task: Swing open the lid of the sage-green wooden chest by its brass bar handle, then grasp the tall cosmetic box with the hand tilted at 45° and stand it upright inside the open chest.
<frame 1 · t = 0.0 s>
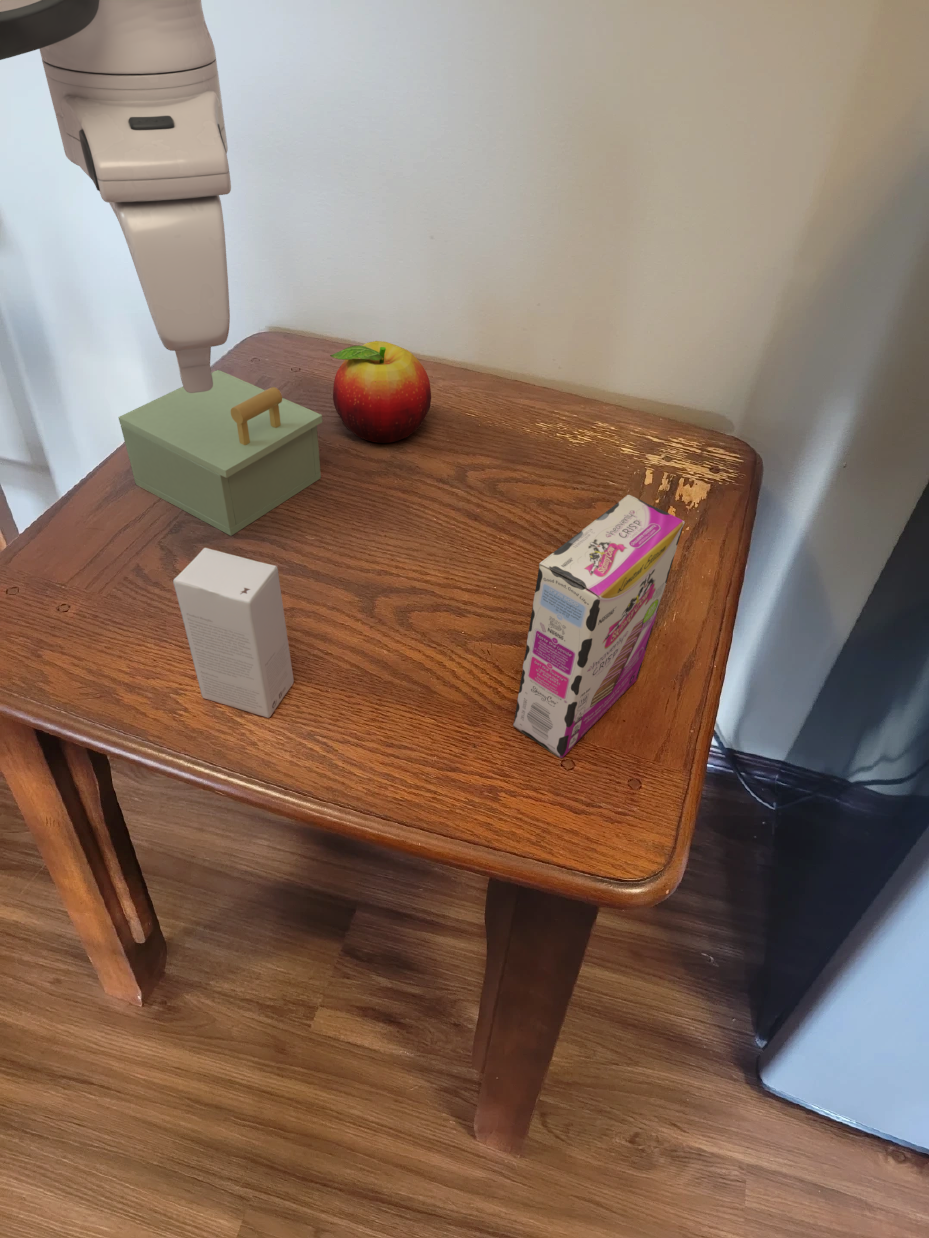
hand: (186, 354, 57), 24 cm above the table, tool pointing down, fingers open, 8 cm apart
cosmetic box: (248, 691, 67), on the table
chest: (229, 481, 87), on the table
fruit: (382, 431, 96), on the table
candy bar box: (578, 705, 67), on the table
lid: (219, 401, 80), point 9 cm above the table, hinge at 0.0°
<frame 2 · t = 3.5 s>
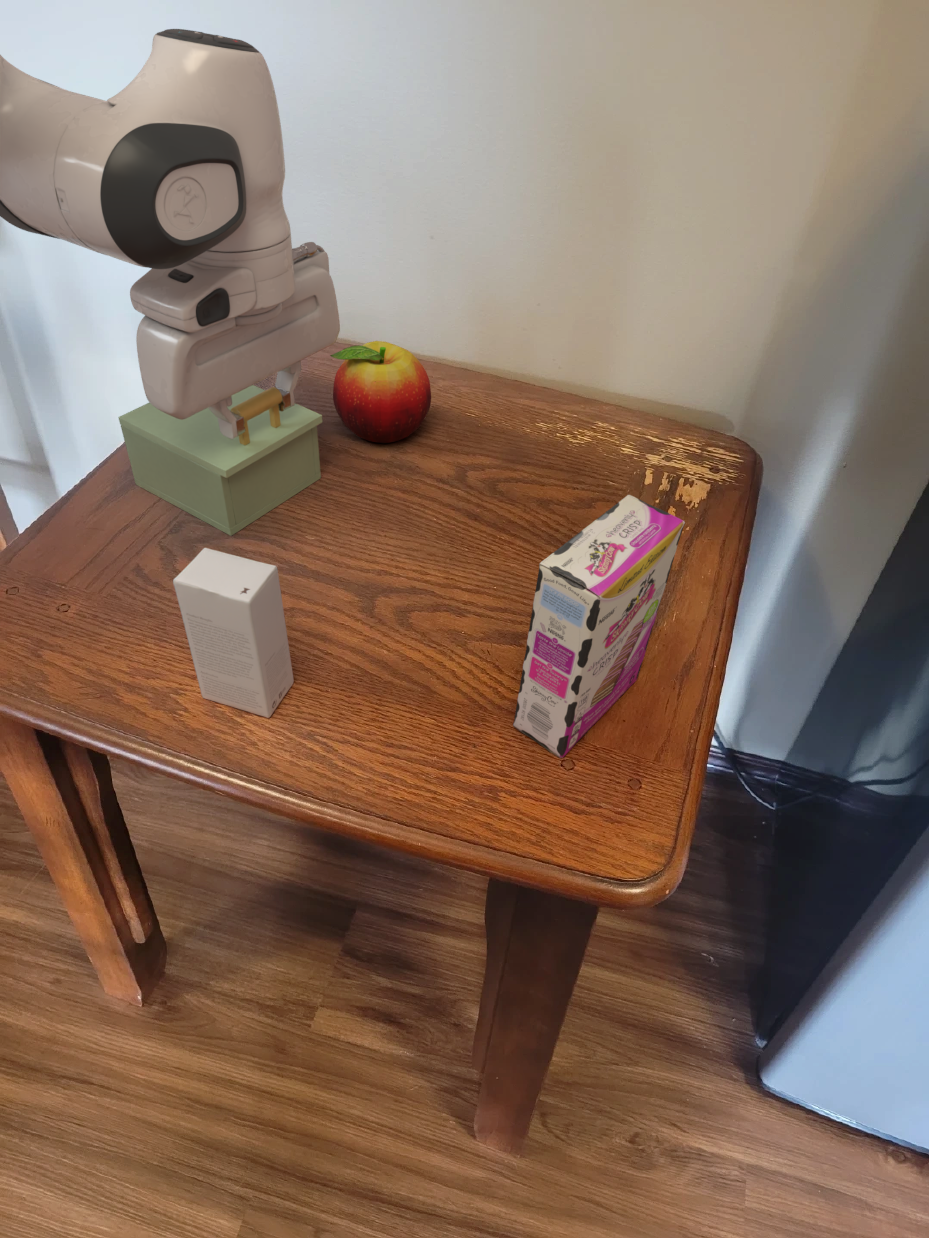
hand: (258, 420, 78), 9 cm above the table, tool pointing down, fingers closed on lid, 5 cm apart
lid: (219, 401, 80), point 9 cm above the table, hinge at 0.0°, touching gripper
everything else where it was.
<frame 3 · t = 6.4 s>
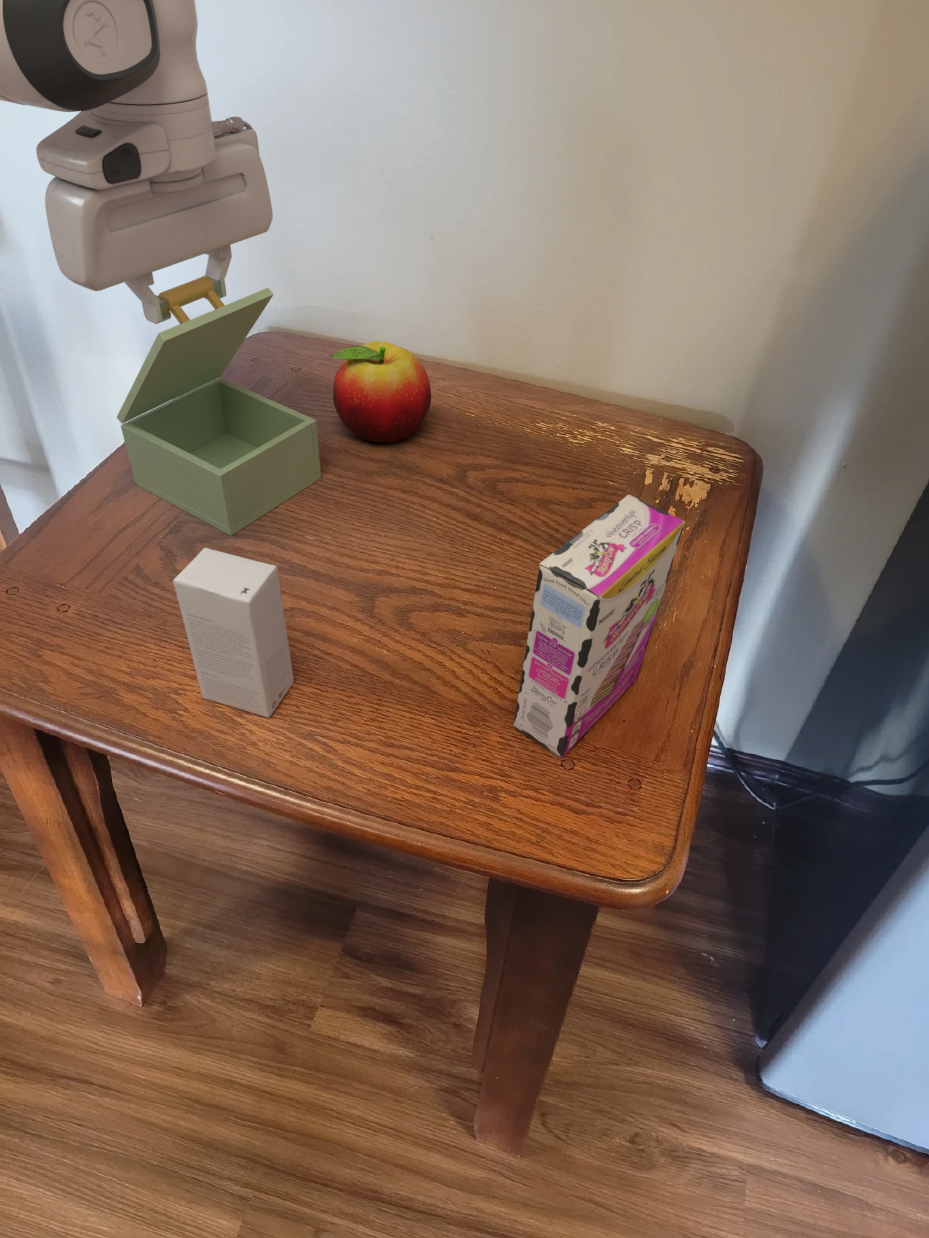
hand: (187, 308, 76), 18 cm above the table, tool pointing down, fingers closed on lid, 5 cm apart
lid: (180, 340, 79), point 14 cm above the table, hinge at 50.6°, touching gripper
everything else where it was.
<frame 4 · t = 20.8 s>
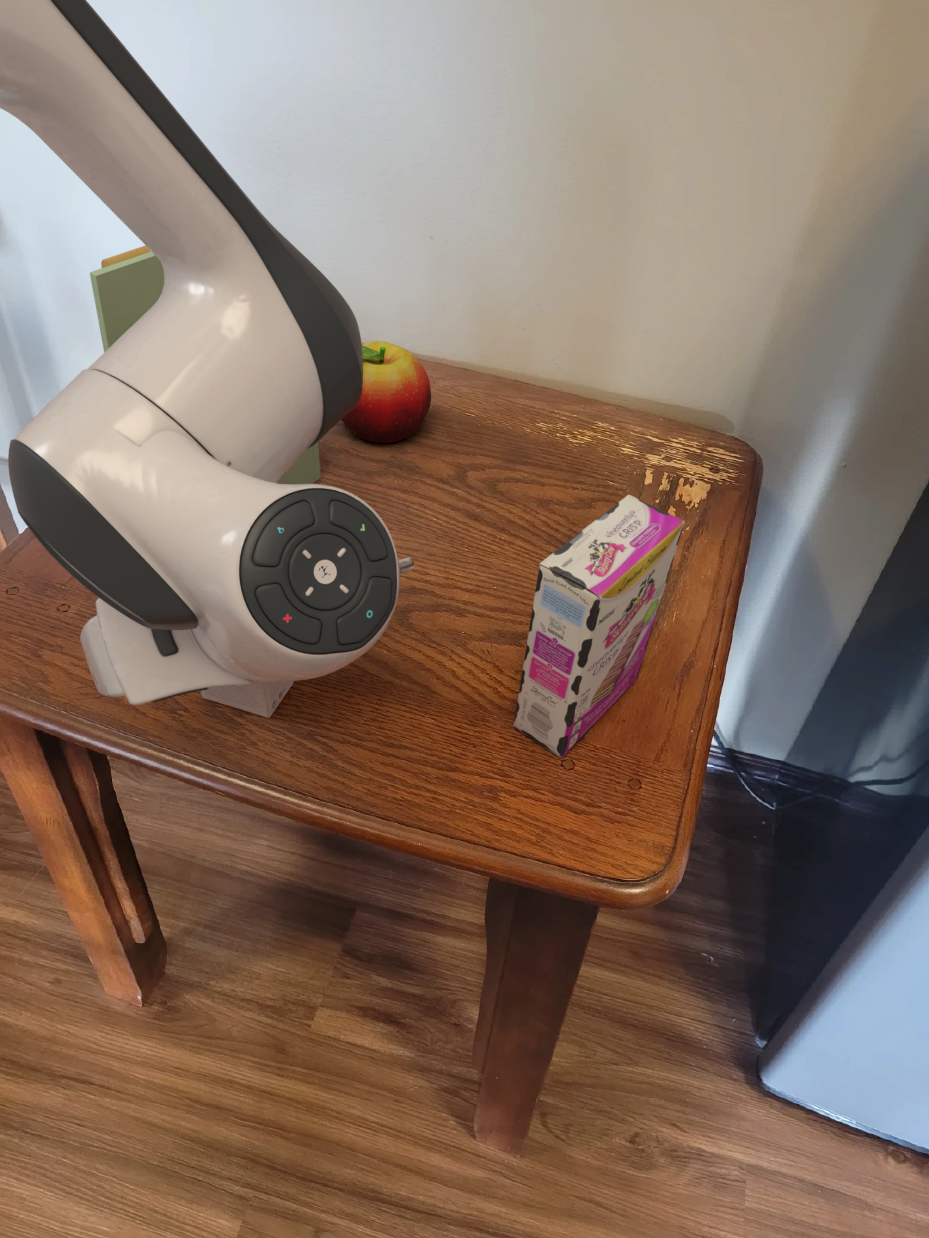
hand: (233, 624, 62), 7 cm above the table, tool tilted 45°, fingers closed on cosmetic box, 7 cm apart
cosmetic box: (248, 692, 67), on the table, touching gripper
lid: (148, 321, 80), point 15 cm above the table, hinge at 83.4°
everything else where it was.
when the fingers open (7 cm above the table, at t = 33.7 s): cosmetic box stays where it is, resting on chest.
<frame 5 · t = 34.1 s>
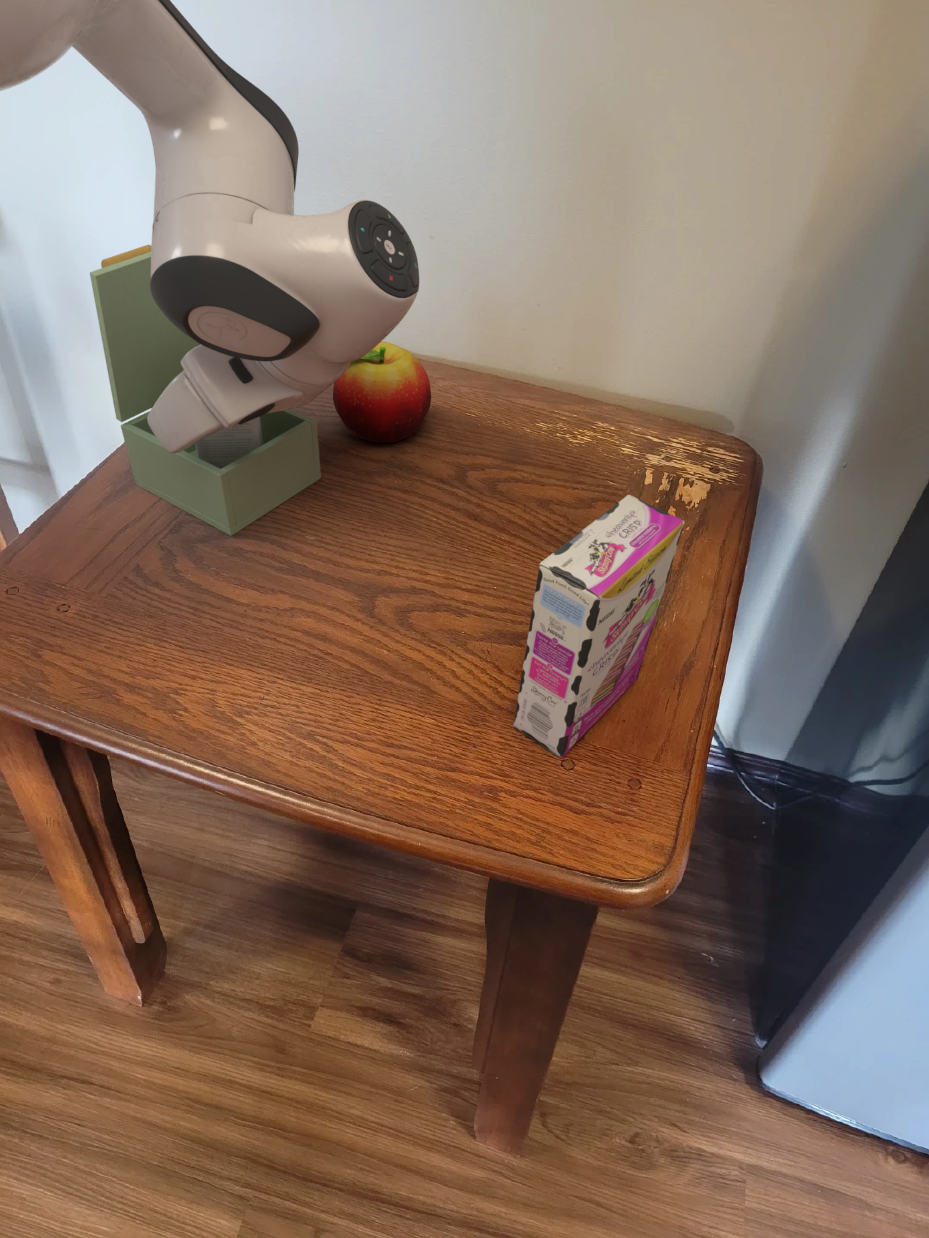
hand: (221, 416, 82), 8 cm above the table, tool tilted 45°, fingers open, 8 cm apart
cosmetic box: (236, 480, 86), point 1 cm above the table, touching chest
everything else where it was.
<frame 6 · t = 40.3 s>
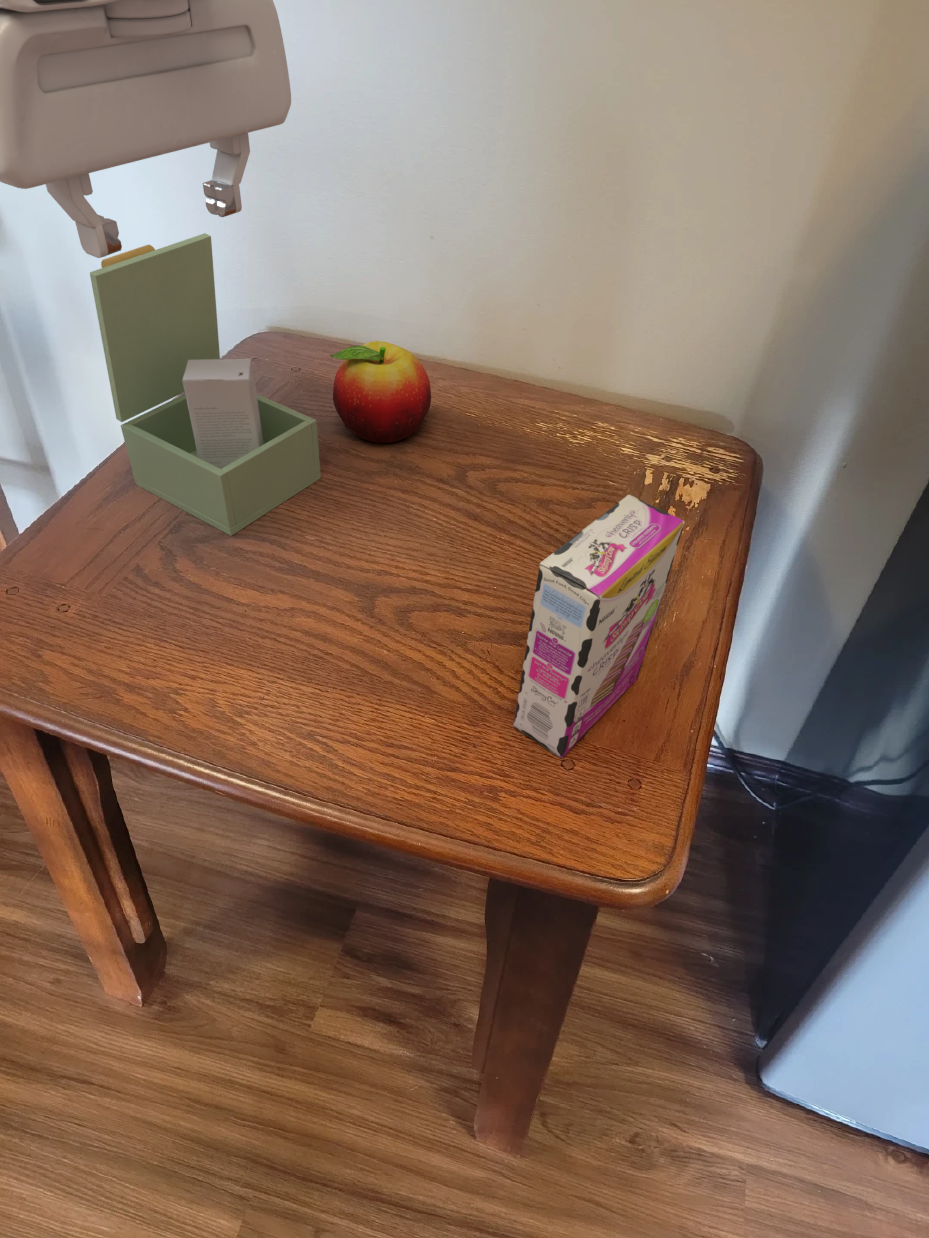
hand: (167, 232, 52), 31 cm above the table, tool pointing down, fingers open, 8 cm apart
nothing on the table moved.
at the end: lid at +83° (first picture: +0°); cosmetic box inside the target area in the chest (1.1 cm from its centre), point 0.6 cm above the chest's base; cosmetic box tilted 0° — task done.
